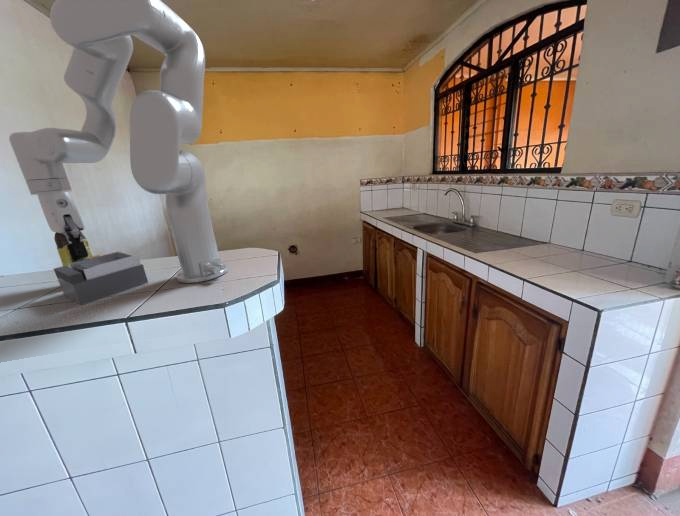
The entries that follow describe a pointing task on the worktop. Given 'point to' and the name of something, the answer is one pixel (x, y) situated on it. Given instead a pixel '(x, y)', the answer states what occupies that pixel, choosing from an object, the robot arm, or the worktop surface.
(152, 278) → the worktop surface
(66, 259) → the sauce bottle
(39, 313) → the worktop surface
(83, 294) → the grey stepped tray box
